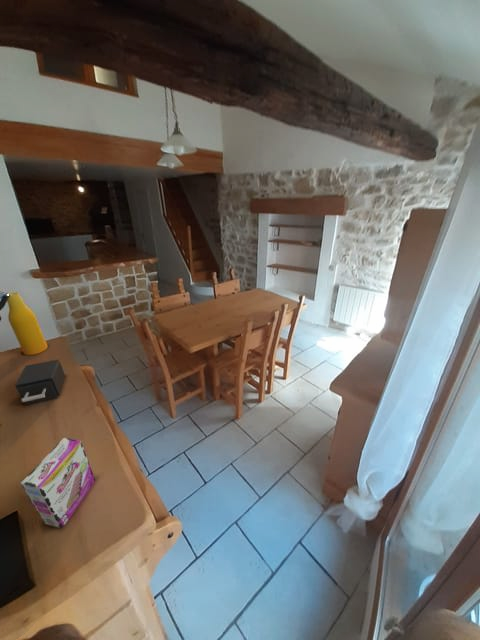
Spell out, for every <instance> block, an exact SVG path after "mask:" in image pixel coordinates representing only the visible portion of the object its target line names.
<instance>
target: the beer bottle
mask: <svg viewBox="0 0 480 640" xmlns="http://www.w3.org/2000/svg"><path fill="white" fill-rule="evenodd" d="M9 293H10V297H9V299H8V300H7V302H6V303H7V305H8V309H9V311H8V315H7V316H8V317H7V318H8V322H9V325H10V326H11V329H12V331H13V334H14V335H15V338H16V339H17V342H18V344H19V346H20V349H21V352H22V353H23V354H24V355H26V356H33V355H37V354H40V353H42V352H44V351H45V350H47V349H48V343H47V341H46V339H45V336H44V334H43V331H42V329H41V327H40V324H39V322H38V319H37V316H36V315H35V313H34V311H33V310H32V309H30V308H29V307H28V306H27V305H26V304H25V302H24V300H23V299H22V297H21V295H20V294H19V292H17V291H15V292H14V291H13V292H9Z"/></svg>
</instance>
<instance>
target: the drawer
mask: <svg viewBox="0 0 480 640" xmlns="http://www.w3.org/2000/svg"><path fill="white" fill-rule="evenodd" d="M16 390H17V392H18V394H19V396H20V398H21V402H22V403H23V404H24V405H25V407H26V406H30V405H34V404H38V403H43V402H46V401H51V400H56V399H58V397H59V396H57V393H56V391H55V389H54V386H53V384H52V382H51V380H47V381H42V382H37V383H32V384H28V385H23V386H20V387H18V388H16Z"/></svg>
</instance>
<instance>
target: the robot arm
mask: <svg viewBox="0 0 480 640" xmlns="http://www.w3.org/2000/svg"><path fill="white" fill-rule="evenodd" d="M10 293H11V292H6V293H5V292H3V291H1V290H0V311H2V310H3V309H4V308H5V306H6V304H7V303H8V302H7V300H8V299H9V297H10ZM1 321H2V316H1V315H0V322H1Z"/></svg>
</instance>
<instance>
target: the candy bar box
mask: <svg viewBox="0 0 480 640" xmlns="http://www.w3.org/2000/svg"><path fill="white" fill-rule="evenodd" d="M88 459H89V458H88V457H87V454H86V451H85V449H84V446H83V444H82V441H81V440H78V439H72V438H68V437H63V438H62V439H61V440H60V441H59V442H58V443H57V444H56V445H55V446H54V447H53V449H51V450H50V451H49V453H48V454H47V455H46V456H45V457H43V459H42V460H41V461H40V462H39V463H38V464H37V465H36V466H35V467H34V468H33V469H32V471H31V472H30V473H29V474H28V475H27V476H26V477H25V478H24V479H23V480H22V481H21V482H20V485H21V487H22V488H23V490H24V491H25V493H26V495H27V497H28V498H29V500H30V501H31V503H32V505H33V506H34V508H35V509H36V511H37V513H38V514H39V516H40V518H41V519H42V521H43V522H44V524H45V525H48V526H52V527H55V528H60V529H63V528H64V527H65V525H66V524H67V522H68V521H69V520H70V518H71V516H72V515H73V514H74V512H75V511H76V510H77V508H78V506H79V505H80V504H81V502H82V501H83V499H84V498H85V497H86V494H87V493H88V492H89V491H90V489H91V487H92V486H93V484H94V483H95V481H96V478H95V475H94V473H93V470H92V467H91V464H90V463H89V460H88Z"/></svg>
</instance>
